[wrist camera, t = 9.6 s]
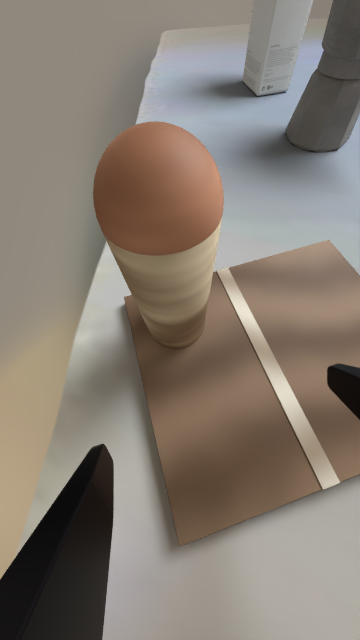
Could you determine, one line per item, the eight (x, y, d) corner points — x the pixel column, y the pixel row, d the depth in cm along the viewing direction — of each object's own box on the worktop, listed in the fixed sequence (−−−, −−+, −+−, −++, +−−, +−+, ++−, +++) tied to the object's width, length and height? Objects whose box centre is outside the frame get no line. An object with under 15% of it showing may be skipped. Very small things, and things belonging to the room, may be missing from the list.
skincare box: (287, 92, 39) (344, -93, 25) (254, 97, 38) (292, -87, 24) (270, 76, 42) (310, -94, 28) (239, 80, 42) (264, -89, 28)
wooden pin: (216, 322, 18) (272, 125, 6) (173, 361, 17) (131, 210, 4) (178, 288, 20) (160, 80, 8) (137, 320, 18) (33, 132, 6)
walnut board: (468, 422, 15) (488, 423, 14) (180, 537, 13) (179, 547, 12) (323, 246, 22) (329, 239, 21) (127, 302, 20) (123, 296, 19)
